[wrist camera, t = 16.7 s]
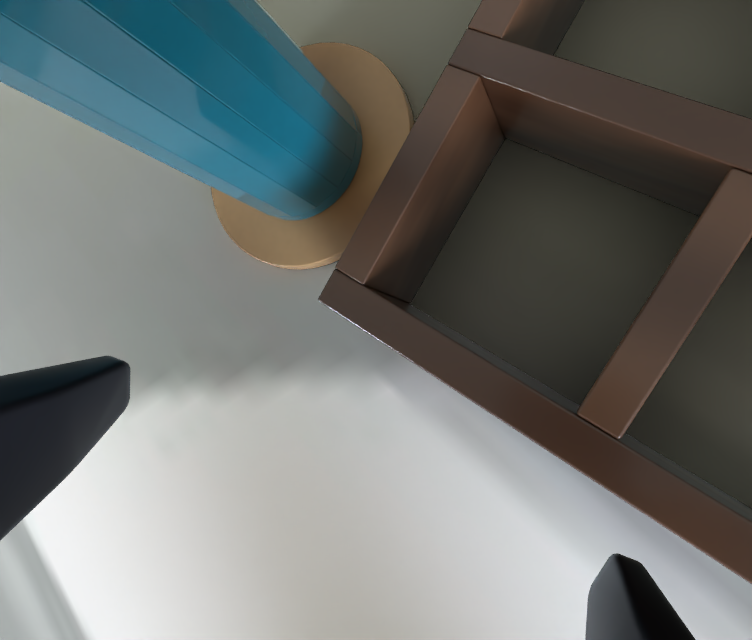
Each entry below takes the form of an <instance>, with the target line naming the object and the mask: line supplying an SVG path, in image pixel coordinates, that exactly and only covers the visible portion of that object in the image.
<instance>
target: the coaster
mask: <svg viewBox="0 0 752 640" xmlns="http://www.w3.org/2000/svg"><path fill="white" fill-rule="evenodd" d="M300 48H301V49H302V51H303V52H304V53H305V54H306V55H307V56H308V57H309V58H310V59H311V60H312V62H313V63H314V64H315V65H316V66H317V67H318V68H319V69H320V70H321V71H322V73H323V74H324V75H325V76H326V77H327V78H328V79H329V80H330V81H331V82H332V84H333V85H334V86H335V87H336V88H337V89H338V90H339V92H340V93H341V94H342V95H343V97H344V98H345V99H346V100H347V101H348V102H349V103H350V104H351V106H352V107H353V109H354V110H355V112H356V114H357V116H358V119H359V122H360V125H361V131H362V154H361V158H360V163H359V166H358V169H357V172H356V174H355V176H354V178H353V180H352V182H351V183H350V185H349V187H348V188H347V190H346V191H345V192H344V193H343V195H342V196H341V197H340V198H339V199H338V200H337V201H336V202H335V203H334V204H333V205H331V206H330V207H329V208H328V209H326V210H324V211H323V212H321V213H319V214H317V215H315V216H313V217H310V218H306V219H302V220H282V219H279V218H275V217H273V216H270V215H267V214H265V213H263V212H261V211H259V210H257V209H255V208H253V207H251V206H249V205H247V204H245V203H243V202H241V201H239V200H237V199H235V198H233V197H231V196H229V195H227V194H225V193H223V192H221V191H219V190H217V189H215V188H213V187H211V190H212V197H213V202H214V206H215V209H216V212H217V215H218V218H219V220H220V222H221V224H222V226H223V228H224V229H225V231H226V232H227V234H228V235H229V236H230V238H231V239H232V240H233V241H234V242H235V243H236V244H237V246H238V247H239V248H241V249H242V250H243V251H245V252H246V253H247V254H248V255H250V256H252V257H254V258H256V259H257V260H259V261H262V262H265V263H268V264H271V265H273V266H276V267H280V268H286V269H310V268H317V267H321V266H324V265H328V264H331V263H333V262H335V261H338V260H339V259H340V258H341V256H342V254H343V252H344V250H345V249H346V247H347V245H348V243H349V241H350V240H351V238H352V236H353V234H354V232H355V230H356V229H357V227H358V225H359V223H360V221H361V220H362V218H363V216H364V214H365V212H366V211H367V209H368V207H369V205H370V203H371V201H372V200H373V198H374V196H375V194H376V192H377V191H378V189H379V187H380V185H381V183H382V181H383V180H384V178H385V176H386V174H387V172H388V171H389V169H390V167H391V165H392V163H393V162H394V160H395V158H396V156H397V154H398V152H399V151H400V149H401V147H402V145H403V143H404V142H405V140H406V138H407V136H408V134H409V133H410V131H411V129H412V127H413V125H414V119H413V113H412V110H411V107H410V104H409V101H408V98H407V96H406V94H405V92H404V90H403V88H402V86H401V85H400V83H399V82H398V80H397V79H396V78H395V76H394V75H393V74H392V72H391V71H390V69H389V68H388V67H387V66H386V65H385V64H384V63H383V62H382V61H381V60H379V59H378V58H376V57H375V56H374V55H372V54H371V53H369V52H367V51H365V50H363V49H361V48H358V47H355V46H351V45H348V44H343V43H334V42H330V43H317V44H311V45H306V46H303V47H300Z"/></svg>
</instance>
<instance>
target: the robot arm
mask: <svg viewBox="0 0 752 640" xmlns="http://www.w3.org/2000/svg"><path fill="white" fill-rule="evenodd" d="M129 399H130V367H129V364H128V363H126V362H125V361H122V360H120V359H117V358H114V357H112V356H102V357H97V358H92V359H86V360H81V361H76V362H71V363H66V364H60V365H55V366H50V367H45V368H40V369H34V370H29V371H24V372H19V373H14V374H8V375H3V376H0V540H1V539H2V538H3V537H5V536H6V535H7V534H8V533H9V532H10V531H11V530H12V529H13V528H14V527H15V526H16V525H17V524H18V523H19V522H20V521H21V520H22V519H23V518H24V517H25V516H26V515H27V514H29V513H30V512H31V511H32V510H33V509H34V508H35V507H36V506H37V505H38V504H39V503H40V502H41V501H42V500H43V499H44V498H45V497H46V496H47V495H48V494H49V493H50V492H51V491H53V490H54V489H55V488H56V487H57V486H58V485H59V484H60V483H61V482H62V481H63V480H64V479H65V478H66V477H67V476H68V475H69V474H70V473H71V472H72V471H73V469H74V468H75V467H76V466H77V465H78V464H79V463H80V462H81V461H82V459H83V458H84V457H85V456H86V455H87V454H88V452H89V451H90V450H91V449H92V448H93V447H94V445H95V444H96V443H97V442H98V441H99V440H100V438H101V437H102V436H103V435H104V434H105V433H106V431H107V430H108V429H109V428H110V427H111V426H112V424H113V423H114V422H115V421H116V420H117V419H118V418H119V416H120V415H121V414H122V413H123V412H124V410H125V409H126V407H127V405H128V403H129ZM585 640H695V638H694V637H693V636H692V634H691V633H690V631H689V630H688V628H687V627H686V626H685V624H684V623H683V621H682V620H681V618H680V617H679V616H678V614H677V613H676V611H675V610H674V609H673V607H672V606H671V604H670V603H669V601H668V600H667V599H666V597H665V596H664V594H663V593H662V592H661V590H660V589H659V587H658V586H657V584H656V583H655V582H654V580H653V579H652V577H651V576H650V574H649V573H648V572H647V570H646V569H645V567H644V566H643V565H642V564H641V563H640V562H638V561H636V560H633V559H631V558H628V557H626V556H623V555H621V554H613V555H611V556H610V557H609V559H608V560H607V562H606V563H605V565H604V566H603V568H602V569H601V571H600V572H599V574H598V576H597V577H596V579H595V580H594V582H593V583H592V585H591V588H590V591H589V595H588V606H587V622H586V639H585Z"/></svg>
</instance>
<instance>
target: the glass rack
mask: <svg viewBox="0 0 752 640" xmlns="http://www.w3.org/2000/svg"><path fill="white" fill-rule="evenodd" d="M583 2H584V0H482V2H481V4H480V5H479V7H478V9H477V11H476V13H475V15H474V16H473V18H472V20H471V22H470V24H469V25H468V29H466V31H465V33H464V35H463V37H462V38H461V40H460V42H459V44H458V46H457V48H456V49H455V51H454V53H453V55H452V57H451V58H450V60H449V62H448V65H447V66H446V67H445V69H444V71H443V73H442V74H441V76H440V78H439V80H438V82H437V84H436V85H435V87H434V89H433V91H432V93H431V94H430V96H429V98H428V100H427V102H426V104H425V105H424V107H423V109H422V111H421V113H420V114H419V116H418V118H417V120H416V122H415V123H414V125H413V127H412V129H411V131H410V133H409V134H408V136H407V138H406V140H405V142H404V143H403V145H402V147H401V149H400V151H399V152H398V154H397V156H396V158H395V160H394V162H393V163H392V165H391V167H390V169H389V171H388V172H387V174H386V176H385V178H384V180H383V181H382V183H381V185H380V187H379V189H378V191H377V192H376V194H375V196H374V198H373V200H372V201H371V203H370V205H369V207H368V209H367V211H366V212H365V214H364V216H363V218H362V220H361V221H360V223H359V225H358V227H357V229H356V230H355V232H354V234H353V236H352V238H351V240H350V241H349V243H348V245H347V247H346V249H345V250H344V252H343V254H342V256H341V258H340V259H339V261H338V263H337V265H336V269H335V270H334V271H333V273H332V275H331V277H330V278H329V280H328V282H327V284H326V286H325V287H324V289H323V291H322V293H321V295H320V296H319V298H318V300H319V302H321V303H322V304H324V305H325V306H327V307H328V308H330V309H331V310H333V311H334V312H336V313H337V314H339V315H340V316H342V317H343V318H345V319H347V320H348V321H350V322H351V323H353V324H354V325H356V326H357V327H359V328H360V329H362V330H363V331H365V332H366V333H368V334H370V335H371V336H373V337H374V338H376V339H377V340H379V341H380V342H382V343H383V344H385V345H386V346H388V347H389V348H391V349H392V350H394V351H396V352H397V353H399V354H400V355H402V356H403V357H405V358H406V359H408V360H409V361H411V362H412V363H414V364H415V365H417V366H418V367H420V368H422V369H423V370H425V371H426V372H428V373H429V374H431V375H432V376H434V377H435V378H437V379H438V380H440V381H441V382H443V383H445V384H446V385H448V386H449V387H451V388H452V389H454V390H455V391H457V392H458V393H460V394H461V395H463V396H464V397H466V398H467V399H469V400H471V401H472V402H474V403H475V404H477V405H478V406H480V407H481V408H483V409H484V410H486V411H487V412H489V413H490V414H492V415H494V416H495V417H497V418H498V419H500V420H501V421H503V422H504V423H506V424H507V425H509V426H510V427H512V428H513V429H515V430H516V431H518V432H520V433H521V434H523V435H524V436H526V437H527V438H529V439H530V440H532V441H533V442H535V443H536V444H538V445H539V446H541V447H542V448H544V449H546V450H547V451H549V452H550V453H552V454H553V455H555V456H556V457H558V458H559V459H561V460H562V461H564V462H565V463H567V464H569V465H570V466H572V467H573V468H575V469H576V470H578V471H579V472H581V473H582V474H584V475H585V476H587V477H588V478H590V479H591V480H593V481H595V482H596V483H598V484H599V485H601V486H602V487H604V488H605V489H607V490H608V491H610V492H611V493H613V494H614V495H616V496H618V497H619V498H621V499H622V500H624V501H625V502H627V503H628V504H630V505H631V506H633V507H634V508H636V509H637V510H639V511H640V512H642V513H644V514H645V515H647V516H648V517H650V518H651V519H653V520H654V521H656V522H657V523H659V524H660V525H662V526H663V527H665V528H666V529H668V530H670V531H671V532H673V533H674V534H676V535H677V536H679V537H680V538H682V539H683V540H685V541H686V542H688V543H689V544H691V545H693V546H694V547H696V548H697V549H699V550H700V551H702V552H703V553H705V554H706V555H708V556H709V557H711V558H712V559H714V560H715V561H717V562H719V563H720V564H722V565H723V566H725V567H726V568H728V569H729V570H731V571H732V572H734V573H735V574H737V575H738V576H740V577H741V578H743V579H745V580H746V581H748V582H749V583H751V584H752V509H751V508H749V507H748V506H746V505H744V504H743V503H741V502H739V501H738V500H736V499H734V498H733V497H731V496H729V495H728V494H726V493H724V492H723V491H721V490H719V489H718V488H716V487H714V486H713V485H711V484H709V483H708V482H706V481H704V480H703V479H701V478H699V477H698V476H696V475H694V474H693V473H691V472H689V471H688V470H686V469H684V468H683V467H681V466H679V465H678V464H676V463H674V462H673V461H671V460H669V459H668V458H666V457H664V456H663V455H661V454H659V453H658V452H656V451H654V450H653V449H651V448H649V447H648V446H646V445H644V444H643V443H641V442H639V441H638V440H636V439H634V438H633V437H631V436H629V435H628V434H626V433H625V432H626V430H627V429H628V427H629V426H630V424H631V423H632V421H633V420H634V418H635V417H636V415H637V413H638V412H639V410H640V409H641V407H642V406H643V404H644V403H645V401H646V400H647V398H648V397H649V395H650V393H651V392H652V390H653V389H654V387H655V386H656V384H657V383H658V381H659V380H660V378H661V376H662V375H663V373H664V372H665V370H666V369H667V367H668V366H669V364H670V363H671V361H672V360H673V358H674V356H675V355H676V353H677V352H678V350H679V349H680V347H681V346H682V344H683V343H684V341H685V339H686V338H687V336H688V335H689V333H690V332H691V330H692V329H693V327H694V326H695V324H696V323H697V321H698V319H699V318H700V316H701V315H702V313H703V312H704V310H705V309H706V307H707V306H708V304H709V302H710V301H711V299H712V298H713V296H714V295H715V293H716V292H717V290H718V289H719V287H720V286H721V284H722V282H723V281H724V279H725V278H726V276H727V275H728V273H729V272H730V270H731V269H732V267H733V265H734V264H735V262H736V261H737V259H738V258H739V256H740V255H741V253H742V252H743V250H744V249H745V247H746V245H747V244H748V242H749V241H750V239H751V238H752V119H750V118H747V117H744V116H741V115H738V114H734V113H731V112H728V111H725V110H722V109H719V108H716V107H713V106H709V105H706V104H703V103H700V102H697V101H694V100H691V99H688V98H684V97H681V96H678V95H675V94H672V93H669V92H666V91H663V90H659V89H656V88H653V87H650V86H647V85H644V84H641V83H638V82H634V81H631V80H628V79H625V78H622V77H619V76H616V75H613V74H609V73H606V72H603V71H600V70H597V69H594V68H591V67H588V66H584V65H581V64H578V63H575V62H572V61H569V60H566V59H562V58H559V57H556V56H553V54H554V52H555V51H556V49H557V47H558V45H559V44H560V42H561V40H562V39H563V37H564V35H565V33H566V32H567V30H568V28H569V26H570V25H571V23H572V21H573V19H574V18H575V16H576V14H577V12H578V11H579V9H580V7H581V5H582V4H583ZM505 138H508V139H510V140H512V141H515V142H517V143H520V144H522V145H525V146H527V147H530V148H532V149H535V150H537V151H540V152H542V153H545V154H547V155H550V156H552V157H554V158H557V159H559V160H562V161H564V162H567V163H569V164H572V165H574V166H577V167H579V168H582V169H584V170H587V171H589V172H592V173H594V174H596V175H599V176H601V177H604V178H606V179H609V180H611V181H614V182H616V183H619V184H621V185H624V186H626V187H629V188H631V189H634V190H636V191H638V192H641V193H643V194H646V195H648V196H651V197H653V198H656V199H658V200H661V201H663V202H666V203H668V204H671V205H673V206H676V207H678V208H681V209H683V210H685V211H688V212H690V213H693V214H695V215H698V216H700V217H699V219H698V220H697V222H696V223H695V225H694V226H693V228H692V230H691V231H690V233H689V234H688V236H687V238H686V239H685V241H684V242H683V244H682V245H681V247H680V249H679V250H678V252H677V253H676V255H675V256H674V258H673V260H672V261H671V263H670V264H669V266H668V268H667V269H666V271H665V272H664V274H663V275H662V277H661V279H660V280H659V282H658V283H657V285H656V287H655V288H654V290H653V291H652V293H651V294H650V296H649V298H648V299H647V301H646V302H645V304H644V305H643V307H642V309H641V310H640V312H639V313H638V315H637V317H636V318H635V320H634V321H633V323H632V324H631V326H630V328H629V329H628V331H627V332H626V334H625V335H624V337H623V339H622V340H621V342H620V343H619V345H618V347H617V348H616V350H615V351H614V353H613V354H612V356H611V358H610V359H609V361H608V362H607V364H606V366H605V367H604V369H603V370H602V372H601V373H600V375H599V377H598V378H597V380H596V381H595V383H594V384H593V386H592V388H591V389H590V391H589V392H588V394H587V396H586V397H585V399H584V400H583V402H582V403H581V405H580V406H579V405H578V404H576V403H574V402H573V401H571V400H569V399H568V398H566V397H564V396H563V395H561V394H559V393H558V392H556V391H554V390H553V389H551V388H549V387H548V386H546V385H544V384H543V383H541V382H539V381H538V380H536V379H534V378H533V377H531V376H529V375H528V374H526V373H524V372H523V371H521V370H519V369H518V368H516V367H514V366H513V365H511V364H509V363H508V362H506V361H504V360H503V359H501V358H499V357H498V356H496V355H494V354H493V353H491V352H489V351H487V350H486V349H484V348H482V347H481V346H479V345H477V344H476V343H474V342H472V341H471V340H469V339H467V338H466V337H464V336H462V335H461V334H459V333H457V332H456V331H454V330H452V329H451V328H449V327H447V326H446V325H444V324H442V323H441V322H439V321H437V320H436V319H434V318H432V317H431V316H429V315H427V314H426V313H424V312H422V311H421V310H419V309H417V308H416V307H414V306H412V305H411V304H409V303H411V301H412V299H413V298H414V296H415V294H416V292H417V291H418V289H419V287H420V285H421V284H422V282H423V280H424V279H425V277H426V275H427V273H428V272H429V270H430V268H431V266H432V265H433V263H434V261H435V259H436V258H437V256H438V254H439V252H440V251H441V249H442V247H443V245H444V244H445V242H446V240H447V239H448V237H449V235H450V233H451V232H452V230H453V228H454V226H455V225H456V223H457V221H458V219H459V218H460V216H461V214H462V212H463V211H464V209H465V207H466V205H467V204H468V202H469V200H470V199H471V197H472V195H473V193H474V192H475V190H476V188H477V186H478V185H479V183H480V181H481V179H482V178H483V176H484V174H485V172H486V171H487V169H488V167H489V165H490V164H491V162H492V160H493V158H494V157H495V155H496V153H497V152H498V150H499V148H500V146H501V145H502V143H503V141H504V139H505Z"/></svg>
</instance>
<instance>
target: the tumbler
mask: <svg viewBox="0 0 752 640" xmlns="http://www.w3.org/2000/svg"><path fill="white" fill-rule="evenodd" d="M0 82H2V83H4V84H6V85H8V86H10V87H12V88H14V89H16V90H18V91H20V92H22V93H24V94H26V95H28V96H30V97H32V98H34V99H36V100H38V101H40V102H42V103H44V104H46V105H48V106H50V107H52V108H54V109H56V110H58V111H60V112H62V113H64V114H66V115H68V116H70V117H72V118H75V119H77V120H79V121H81V122H83V123H85V124H87V125H89V126H91V127H93V128H95V129H97V130H99V131H101V132H103V133H105V134H107V135H109V136H111V137H113V138H115V139H117V140H119V141H121V142H123V143H125V144H127V145H129V146H131V147H133V148H135V149H137V150H139V151H141V152H143V153H145V154H147V155H149V156H151V157H153V158H155V159H157V160H159V161H161V162H163V163H165V164H167V165H169V166H171V167H173V168H175V169H177V170H179V171H181V172H183V173H185V174H187V175H189V176H191V177H193V178H195V179H197V180H199V181H201V182H203V183H205V184H207V185H209V186H211V187H213V188H215V189H217V190H219V191H221V192H223V193H225V194H227V195H229V196H231V197H233V198H235V199H237V200H239V201H241V202H243V203H245V204H247V205H249V206H251V207H253V208H255V209H257V210H259V211H261V212H263V213H265V214H267V215H270V216H273V217H275V218H279V219H282V220H302V219H306V218H310V217H313V216H315V215H317V214H319V213H321V212H323V211H324V210H326V209H328V208H329V207H330V206H331V205H333V204H334V203H335V202H336V201H337V200H338V199H339V198H340V197H341V196H342V195H343V193H344V192H345V191H346V190H347V188H348V187H349V185H350V183H351V182H352V180H353V178H354V176H355V174H356V172H357V169H358V166H359V163H360V158H361V154H362V131H361V125H360V122H359V119H358V116H357V114H356V112H355V110H354V109H353V107H352V106H351V104H350V103H349V102H348V101H347V100H346V99H345V98H344V97H343V95H342V94H341V93H340V92H339V90H338V89H337V88H336V87H335V86H334V85H333V84H332V82H331V81H330V80H329V79H328V78H327V77H326V76H325V75H324V74H323V73H322V71H321V70H320V69H319V68H318V67H317V66H316V65H315V64H314V63H313V62H312V60H311V59H310V58H309V57H308V56H307V55H306V54H305V53H304V52H303V51H302V49H301V48H300V47H299V46H298V45H297V44H296V43H295V42H294V41H293V40H292V38H291V37H290V36H289V35H288V34H287V33H286V32H285V31H284V30H283V28H282V27H281V26H280V25H279V24H278V23H277V22H276V21H275V20H274V19H273V17H272V16H271V15H270V14H269V13H268V12H267V11H266V10H265V9H264V8H263V6H262V5H261V4H260V3H259V2H258V1H257V0H0Z"/></svg>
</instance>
